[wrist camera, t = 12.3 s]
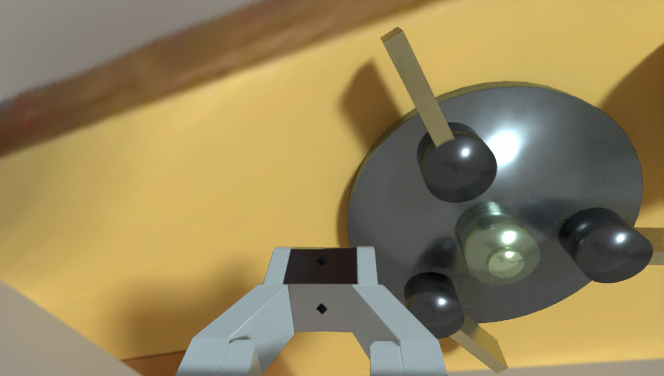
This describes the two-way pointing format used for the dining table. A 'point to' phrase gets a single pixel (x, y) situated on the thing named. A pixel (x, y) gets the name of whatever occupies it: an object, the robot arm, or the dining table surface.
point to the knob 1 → (442, 135)
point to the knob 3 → (610, 245)
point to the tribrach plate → (496, 198)
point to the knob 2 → (450, 317)
